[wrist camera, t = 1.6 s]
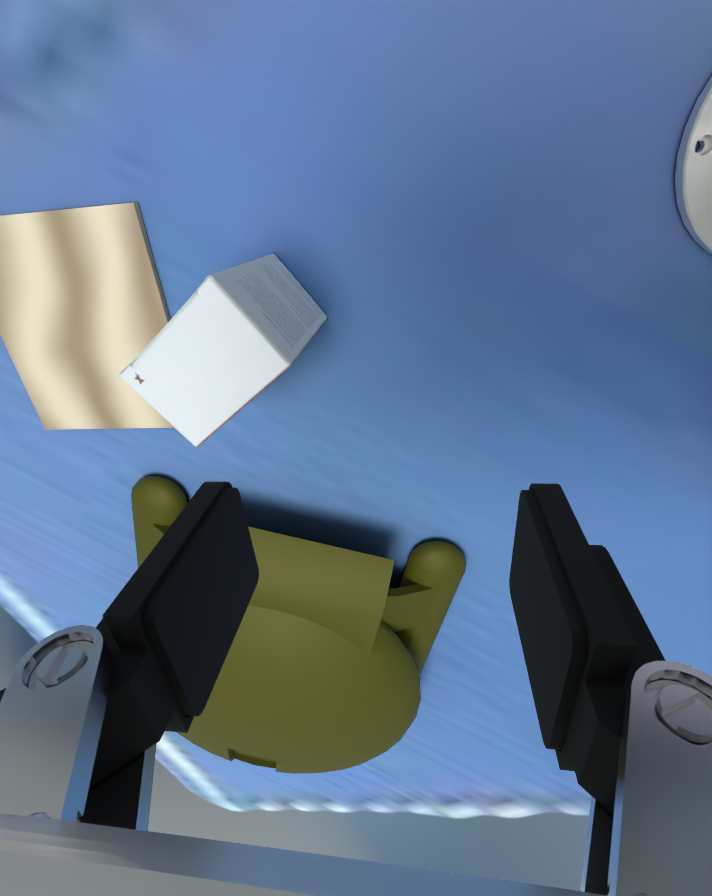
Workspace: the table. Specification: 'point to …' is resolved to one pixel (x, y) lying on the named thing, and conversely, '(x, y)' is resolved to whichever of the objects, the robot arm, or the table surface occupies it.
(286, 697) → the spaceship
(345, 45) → the table surface
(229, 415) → the small box
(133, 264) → the board
